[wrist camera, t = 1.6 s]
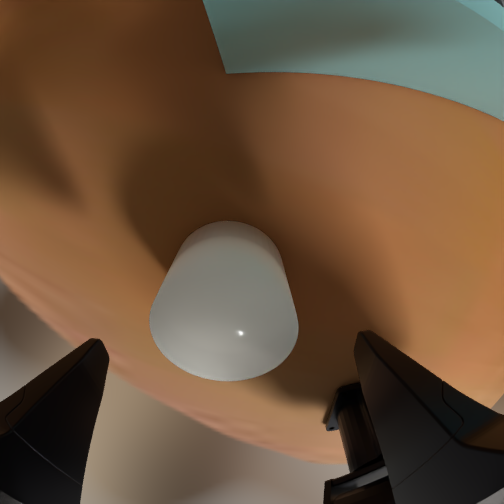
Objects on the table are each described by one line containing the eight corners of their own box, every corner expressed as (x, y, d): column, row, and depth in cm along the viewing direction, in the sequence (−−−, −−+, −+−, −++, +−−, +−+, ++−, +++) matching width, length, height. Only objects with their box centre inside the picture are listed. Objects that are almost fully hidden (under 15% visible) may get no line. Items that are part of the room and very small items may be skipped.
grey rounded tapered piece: (282, 312, 14) (294, 377, 10) (185, 316, 14) (168, 380, 10) (282, 217, 12) (302, 263, 8) (167, 224, 12) (132, 271, 8)
